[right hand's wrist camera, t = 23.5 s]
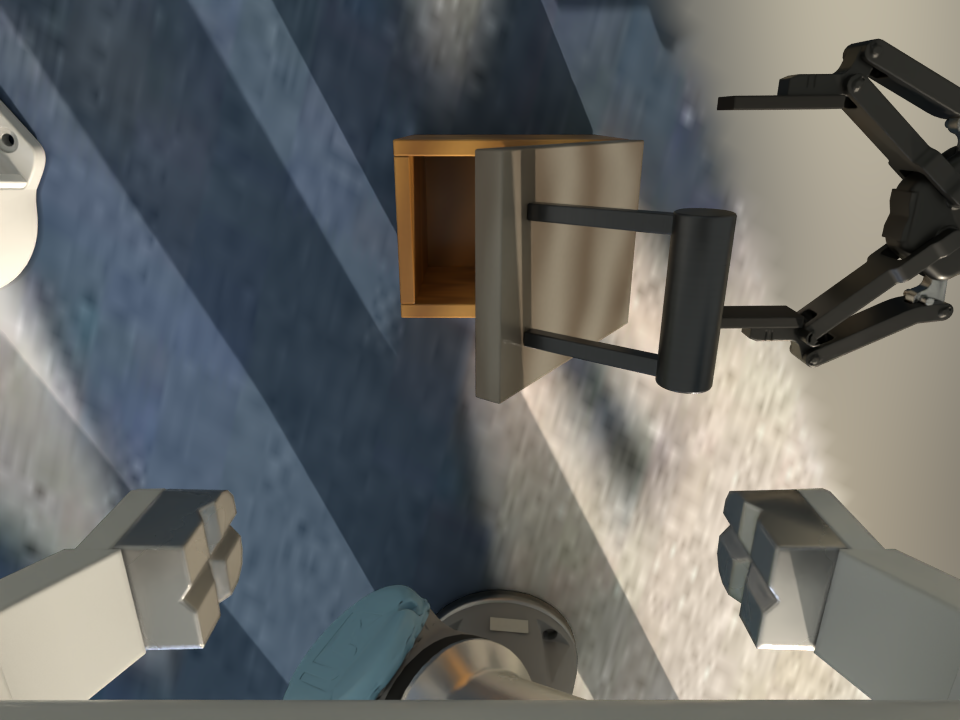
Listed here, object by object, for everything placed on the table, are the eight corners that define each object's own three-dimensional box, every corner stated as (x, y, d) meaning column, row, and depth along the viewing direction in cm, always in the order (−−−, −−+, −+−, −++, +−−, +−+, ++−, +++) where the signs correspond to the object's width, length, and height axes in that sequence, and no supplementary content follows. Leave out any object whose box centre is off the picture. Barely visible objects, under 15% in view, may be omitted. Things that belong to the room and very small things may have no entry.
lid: (474, 397, 27) (685, 459, 22) (473, 148, 24) (726, 156, 19) (608, 319, 38) (771, 349, 33) (621, 139, 34) (808, 142, 29)
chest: (417, 275, 49) (400, 317, 38) (412, 134, 45) (392, 139, 34) (586, 275, 49) (615, 317, 38) (595, 134, 45) (630, 139, 34)
